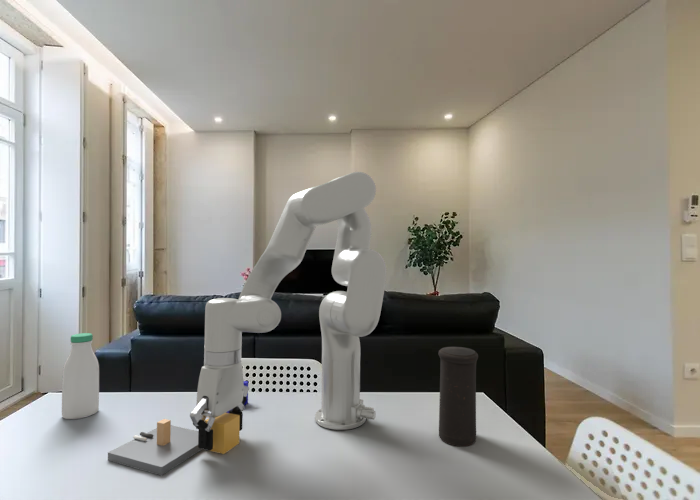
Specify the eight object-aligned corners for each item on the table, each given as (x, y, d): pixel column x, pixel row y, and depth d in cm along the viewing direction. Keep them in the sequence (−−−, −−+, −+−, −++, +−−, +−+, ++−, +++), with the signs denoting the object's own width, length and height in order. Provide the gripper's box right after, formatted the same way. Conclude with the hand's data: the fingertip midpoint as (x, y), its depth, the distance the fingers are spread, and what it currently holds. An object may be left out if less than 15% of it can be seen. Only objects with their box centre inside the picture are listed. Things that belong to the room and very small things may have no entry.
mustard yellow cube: (239, 443, 84) (239, 415, 84) (223, 454, 80) (224, 424, 80) (220, 438, 86) (220, 411, 86) (204, 449, 81) (204, 420, 81)
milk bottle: (104, 412, 100) (105, 333, 100) (70, 422, 93) (71, 339, 94) (89, 405, 104) (91, 330, 104) (55, 415, 98) (57, 335, 98)
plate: (214, 441, 85) (214, 413, 85) (161, 475, 72) (162, 442, 72) (163, 430, 90) (163, 404, 90) (106, 459, 77) (106, 429, 77)
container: (480, 433, 90) (480, 346, 90) (474, 451, 82) (475, 355, 82) (442, 426, 93) (442, 342, 94) (433, 442, 85) (434, 350, 86)
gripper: (234, 346, 92) (232, 419, 92) (177, 365, 76) (175, 454, 76) (261, 349, 90) (259, 425, 89) (208, 370, 73) (206, 462, 73)
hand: (221, 438), depth 83 cm, fingers open, 9 cm apart
